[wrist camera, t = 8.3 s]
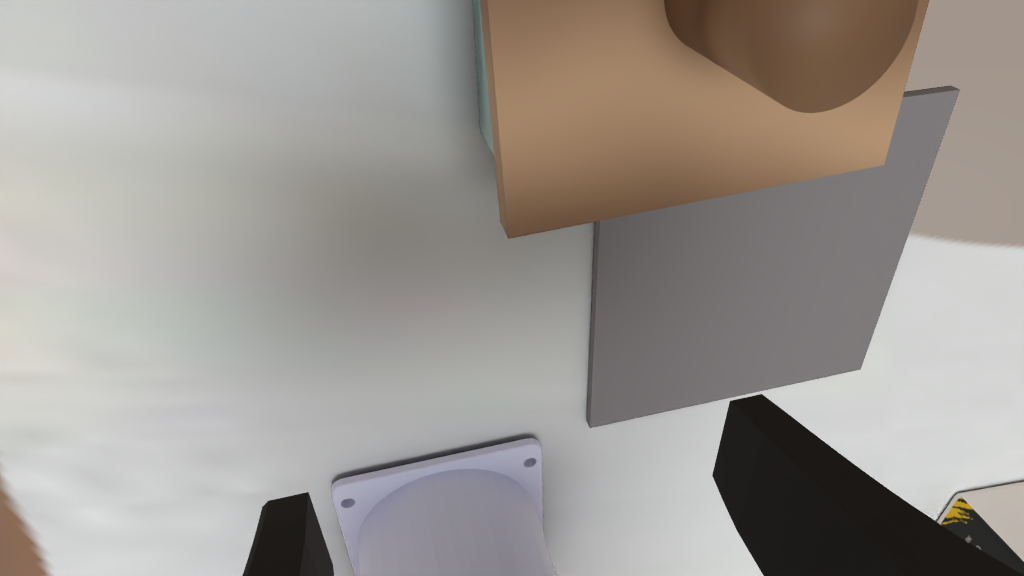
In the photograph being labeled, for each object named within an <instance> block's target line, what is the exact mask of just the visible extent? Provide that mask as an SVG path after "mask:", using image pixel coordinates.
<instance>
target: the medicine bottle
mask: <svg viewBox="0 0 1024 576" xmlns="http://www.w3.org/2000/svg"><path fill="white" fill-rule="evenodd" d="M937 523H939V524H940V525H942V526H943V527H945V528H946V529H948V530H949V531H951V532H952V533H954V534H956V535H957V536H959V537H960V538H962V539H964V540H965V541H967V542H968V543H970V544H972V545H973V546H975V547H977V548H978V549H980V550H982V551H983V552H985V553H987V554H988V555H990V556H992V557H994V558H995V559H997V560H999V561H1000V562H1002V563H1004V564H1005V565H1007V566H1009V567H1011V568H1012V569H1014V570H1016V571H1017V572H1019V573H1021V574H1022V575H1024V482H1018V483H1012V484H1007V485H1001V486H996V487H990V488H985V489H979V490H973V491H968V492H962V493H958V494H956V495H955V496H954V497H953V499H952V500H951V502H950V503H949V505H948V506H947V508H946V509H945V511H944V512H943V514H942V515H941V517H940V518H939V520H938V521H937Z"/></svg>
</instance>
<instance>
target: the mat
mask: <svg viewBox="0 0 1024 576" xmlns="http://www.w3.org/2000/svg"><path fill="white" fill-rule="evenodd" d="M959 91H960V90H959V89H957V88H955V87H953V86H945V87H937V88H929V89H922V90H915V91H907V92H904V94H903V98H902V101H901V105H900V109H899V112H898V116H897V120H896V123H895V127H894V131H893V134H892V138H891V141H890V145H889V149H888V152H887V156H886V160H885V163H884V165H882V166H877V167H872V168H867V169H862V170H856V171H851V172H846V173H841V174H836V175H831V176H826V177H821V178H816V179H810V180H805V181H800V182H795V183H790V184H785V185H780V186H775V187H770V188H764V189H759V190H754V191H749V192H744V193H739V194H734V195H729V196H724V197H718V198H713V199H708V200H703V201H698V202H693V203H688V204H683V205H678V206H672V207H667V208H662V209H657V210H652V211H647V212H642V213H637V214H632V215H626V216H621V217H616V218H611V219H606V220H601V221H596V222H595V241H594V264H593V287H592V310H591V333H590V356H589V379H588V402H587V422H588V425H589V427H590V428H592V427H597V426H602V425H606V424H611V423H615V422H620V421H625V420H629V419H634V418H639V417H643V416H648V415H652V414H657V413H662V412H666V411H671V410H675V409H680V408H685V407H689V406H694V405H698V404H703V403H708V402H712V401H717V400H722V399H726V398H731V397H735V396H740V395H745V394H749V393H754V392H758V391H763V390H768V389H772V388H777V387H781V386H786V385H791V384H795V383H800V382H805V381H809V380H814V379H818V378H823V377H828V376H832V375H837V374H841V373H846V372H851V371H855V370H860V369H861V366H862V364H863V361H864V358H865V355H866V352H867V349H868V347H869V344H870V341H871V338H872V335H873V333H874V330H875V327H876V324H877V321H878V319H879V316H880V313H881V310H882V307H883V305H884V302H885V299H886V296H887V293H888V291H889V288H890V285H891V282H892V279H893V276H894V274H895V271H896V268H897V265H898V262H899V260H900V257H901V254H902V251H903V248H904V246H905V243H906V240H907V237H908V234H909V232H910V229H911V226H912V223H913V220H914V217H915V215H916V212H917V209H918V206H919V203H920V201H921V198H922V195H923V192H924V189H925V187H926V184H927V181H928V178H929V175H930V173H931V170H932V167H933V164H934V161H935V158H936V156H937V153H938V150H939V147H940V144H941V142H942V139H943V136H944V133H945V130H946V128H947V125H948V122H949V119H950V116H951V113H952V111H953V108H954V105H955V102H956V100H957V97H958V94H959Z"/></svg>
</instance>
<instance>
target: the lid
mask: <svg viewBox="0 0 1024 576" xmlns="http://www.w3.org/2000/svg"><path fill="white" fill-rule="evenodd" d="M928 3H929V0H480V10H481V20H482V31H483V41H484V52H485V63H486V73H487V84H488V94H489V105H490V115H491V126H492V136H493V147H494V158H495V168H496V179H497V189H498V200H499V210H500V221H501V224H502V226H503V228H504V230H505V232H506V234H507V237H508V239H509V238H514V237H519V236H524V235H529V234H535V233H540V232H545V231H550V230H555V229H560V228H565V227H570V226H575V225H580V224H586V223H591V222H596V221H601V220H606V219H611V218H616V217H621V216H626V215H632V214H637V213H642V212H647V211H652V210H657V209H662V208H667V207H672V206H678V205H683V204H688V203H693V202H698V201H703V200H708V199H713V198H718V197H724V196H729V195H734V194H739V193H744V192H749V191H754V190H759V189H764V188H770V187H775V186H780V185H785V184H790V183H795V182H800V181H805V180H810V179H816V178H821V177H826V176H831V175H836V174H841V173H846V172H851V171H856V170H862V169H867V168H872V167H877V166H882V165H884V163H885V160H886V156H887V152H888V149H889V145H890V141H891V138H892V134H893V131H894V127H895V123H896V120H897V116H898V112H899V109H900V105H901V101H902V98H903V94H904V90H905V87H906V83H907V80H908V76H909V72H910V69H911V65H912V61H913V58H914V54H915V50H916V47H917V43H918V39H919V35H920V32H921V29H922V25H923V21H924V17H925V14H926V10H927V7H928Z"/></svg>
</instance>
